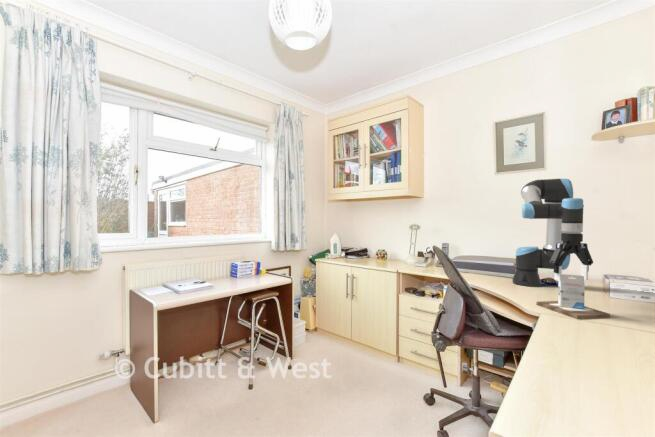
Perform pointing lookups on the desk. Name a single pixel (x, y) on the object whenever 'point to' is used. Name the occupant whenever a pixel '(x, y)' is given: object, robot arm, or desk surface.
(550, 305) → the stand board
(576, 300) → the ink box
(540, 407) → the desk surface
